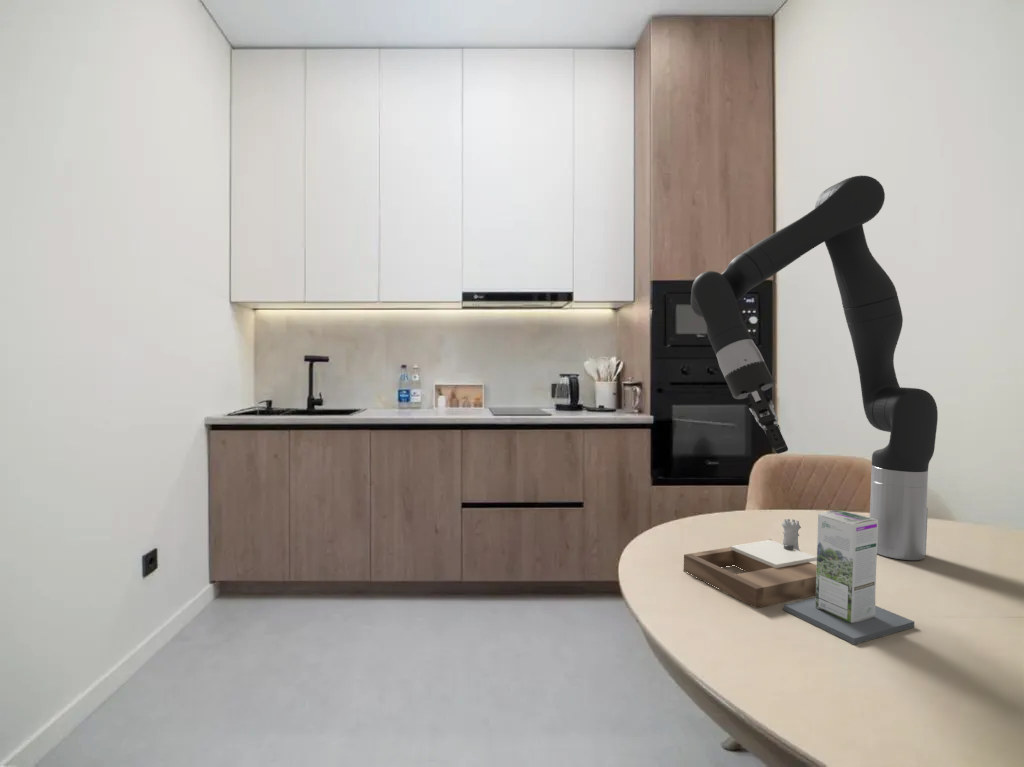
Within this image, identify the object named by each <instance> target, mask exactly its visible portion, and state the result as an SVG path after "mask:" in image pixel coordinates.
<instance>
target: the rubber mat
mask: <svg viewBox="0 0 1024 767" xmlns="http://www.w3.org/2000/svg"><path fill="white" fill-rule="evenodd" d="M815 601H816V596H815V597H811V598H806V599H803V600H798V601H793V602H790V603H786V604H783V611H784V612H787V613H788V614H791V615H793V616H795V617H797V618H799V619H801V620H803V621H806V622H807V623H810V624H812V625H813V626H815V627H818V628H820V629H821V630H824V631H826V632H828V633H829V634H832V635H834V636H836V637H839V638H840V639H842V640H843V641H846V642H848V643H850V644H853V645H856V644H857V645H858V644H860V643H864V642H867V641H870V640H874V639H877V638H882V637H884V636H889V635H892V634H896V633H898V632H901V631H905V630H908V629H909V630H910V629H912V628H915V621H914V620H911V619H909V618H907V617H904V616H902V615H899V614H897V613H895V612H892V611H890V610H887V609H885V608H882V607H880V606H877V605H875V616H874V617H872V618H869V619H866V620H862V621H859V622H854V623H850V622H848V621H845V620H843V619H841V618H839V617H836V616H834V615H832V614H830V613H827V612H825V611H823V610H821V609H818V608H816V607H815V603H816V602H815Z"/></svg>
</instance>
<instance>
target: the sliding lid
mask: <svg viewBox="0 0 1024 767" xmlns="http://www.w3.org/2000/svg"><path fill="white" fill-rule="evenodd" d="M782 544H783V543H779V542H777V541H774V540H771V539H766V540H760V541H753V542H748V543H747V542H746V543H742V544H736V545H730V546H729V547H730V549H731V550H733V551H736V552H738V553H740V554H743V555H745V556H748V557H750V558H753V559H755V560H757V561H760V562H762V563H765V564H767V565H769V566H772V567H774V568H780V567H785V566H790V565H796V564H801V563H806V562H810V563H813V562H815V561H816V562H817V556H815V555H813V554H810V553H807V552H804V551H802V550H800V549H799V550H800V551H799V550H796V549H793V545H790V544H784V545H782Z"/></svg>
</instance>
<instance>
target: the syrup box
mask: <svg viewBox="0 0 1024 767" xmlns="http://www.w3.org/2000/svg"><path fill="white" fill-rule="evenodd" d="M817 515H818V516H817V538H816V539H817V542H816V543H817V546H816V557H817V561H816V565H817V570H816V595H815V597H816V601H815V602H816V603H815V607H816V608H818V609H821V610H823V611H825V612H827V613H830V614H832V615H834V616H836V617H839V618H841V619H843V620H845V621H848V622H850V623H854V622H859V621H862V620H866V619H869V618H872V617H874V616H875V606H876V586H877V585H876V584H877V583H876V582H877V559H878V557H877V556H878V554H877V543H878V520H877V519H874V518H870V516H865V515H862V514H857V513H854V512H850V511H846V510H841V509H840V510H839V509H837V510H836V509H835V510H828V511H825V512H821V513H818V514H817Z"/></svg>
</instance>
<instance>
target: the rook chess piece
mask: <svg viewBox="0 0 1024 767" xmlns="http://www.w3.org/2000/svg"><path fill="white" fill-rule="evenodd" d="M781 526H782V528H783V531H782V534H783V540H782V543H781V544H782V545H784V544H790V545H793V549H796V550H799V551H801V550H800V548H799V536H800V533H799V530H800V529H801V528H802V527H801V525H800V521H799V520H796V519H792V520H791V519H790V518H787V519H783V523H781Z"/></svg>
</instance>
